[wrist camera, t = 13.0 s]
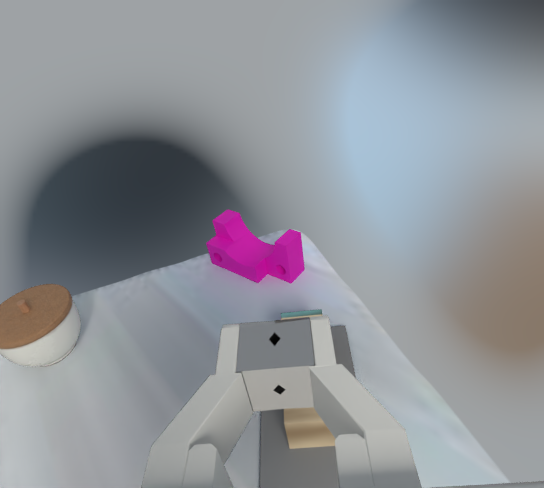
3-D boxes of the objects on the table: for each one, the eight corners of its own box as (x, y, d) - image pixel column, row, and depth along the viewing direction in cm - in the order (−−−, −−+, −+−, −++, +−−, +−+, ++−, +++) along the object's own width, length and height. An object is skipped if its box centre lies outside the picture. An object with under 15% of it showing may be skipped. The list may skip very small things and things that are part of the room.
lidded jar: (103, 346, 54) (74, 299, 49) (24, 396, 49) (-19, 350, 44) (78, 309, 61) (51, 264, 56) (6, 350, 56) (-32, 305, 51)
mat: (384, 522, 34) (384, 520, 33) (259, 528, 34) (259, 527, 34) (345, 328, 51) (345, 325, 51) (263, 335, 52) (262, 332, 52)
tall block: (337, 419, 36) (321, 309, 47) (284, 423, 36) (280, 313, 47) (338, 445, 39) (323, 336, 50) (289, 448, 39) (285, 339, 50)
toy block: (212, 263, 66) (201, 228, 62) (235, 244, 70) (227, 209, 66) (281, 294, 58) (275, 255, 54) (304, 270, 62) (300, 232, 57)
